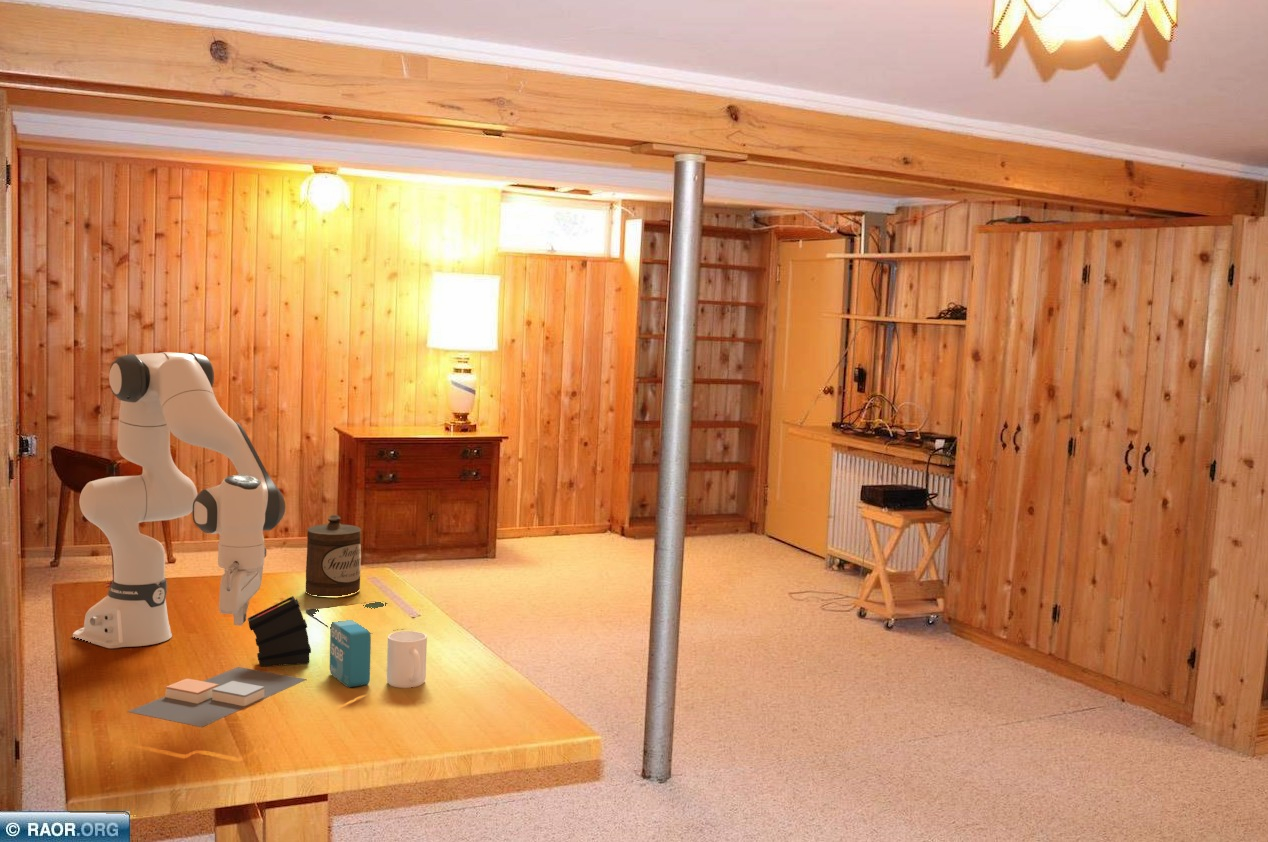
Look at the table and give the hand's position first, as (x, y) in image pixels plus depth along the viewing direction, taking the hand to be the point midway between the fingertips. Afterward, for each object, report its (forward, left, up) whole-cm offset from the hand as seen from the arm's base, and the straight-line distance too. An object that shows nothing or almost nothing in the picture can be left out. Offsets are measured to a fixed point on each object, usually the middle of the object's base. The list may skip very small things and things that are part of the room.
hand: (240, 623), depth 232 cm
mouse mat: (-13, +63, -16) cm, 67 cm away
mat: (-4, -1, -16) cm, 16 cm away
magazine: (-8, +22, -16) cm, 29 cm away
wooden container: (-36, +82, -16) cm, 91 cm away
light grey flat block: (+1, -4, -14) cm, 15 cm away
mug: (+25, +23, -16) cm, 38 cm away
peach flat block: (-8, -7, -14) cm, 18 cm away
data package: (+12, +20, -16) cm, 29 cm away
